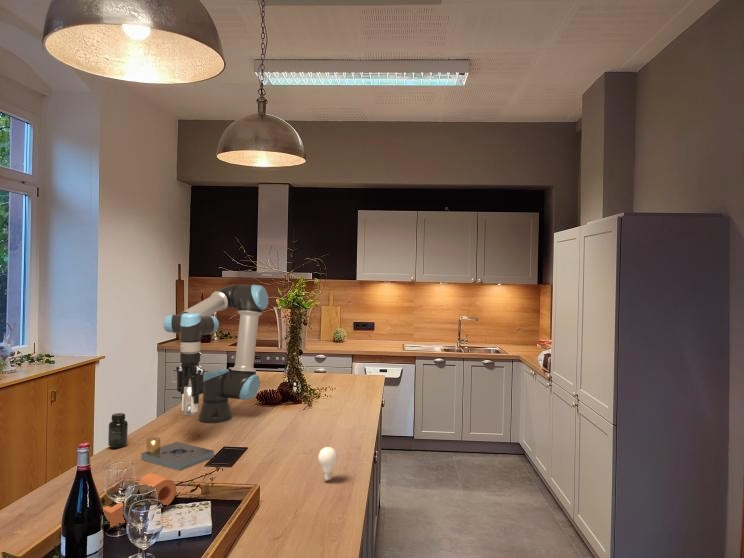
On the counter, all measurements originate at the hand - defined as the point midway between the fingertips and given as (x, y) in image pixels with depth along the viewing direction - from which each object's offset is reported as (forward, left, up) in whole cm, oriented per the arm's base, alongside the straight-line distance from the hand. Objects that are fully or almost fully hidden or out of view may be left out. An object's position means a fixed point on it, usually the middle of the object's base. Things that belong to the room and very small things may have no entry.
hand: (189, 410), depth 209 cm
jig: (+8, -12, -14) cm, 20 cm away
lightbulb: (+66, 0, -14) cm, 68 cm away
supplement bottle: (-24, -14, -14) cm, 32 cm away
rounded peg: (0, 0, -1) cm, 1 cm away
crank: (+32, -48, -14) cm, 60 cm away
